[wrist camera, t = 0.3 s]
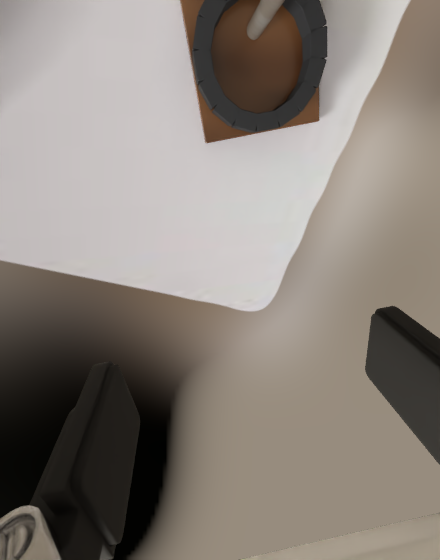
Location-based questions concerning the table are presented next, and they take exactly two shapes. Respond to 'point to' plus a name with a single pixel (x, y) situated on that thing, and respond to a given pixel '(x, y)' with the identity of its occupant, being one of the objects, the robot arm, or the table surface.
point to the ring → (314, 50)
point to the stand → (251, 62)
